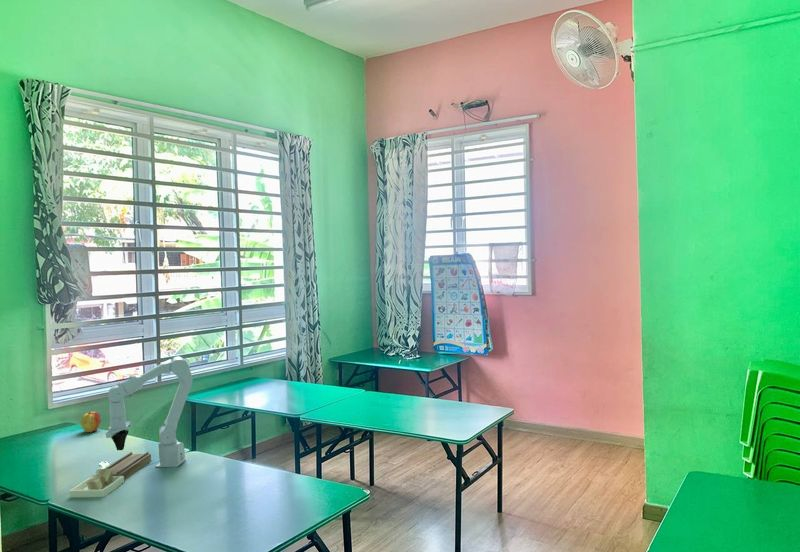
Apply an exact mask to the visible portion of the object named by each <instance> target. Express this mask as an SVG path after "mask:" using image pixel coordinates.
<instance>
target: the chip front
mask: <svg viewBox="0 0 800 552" xmlns="http://www.w3.org/2000/svg"><path fill="white" fill-rule="evenodd" d="M89 478H90V479H89V480H88V481H87V482H86V483H87V486H88V490H101V488H102V487H103V486H104V484H105V482H104V478H103V475H96V474H92V475H91V476H90V477H89Z"/></svg>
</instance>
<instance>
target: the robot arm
mask: <svg viewBox="0 0 800 552" xmlns="http://www.w3.org/2000/svg"><path fill="white" fill-rule="evenodd" d="M171 373H173V374H174V375H175V377H177V378H178V380H179V382H178V383H179V384H178V386H177V389H176V392H175V394H174V398H173V400H172V403H171V405H170V408H169V410H168V414H167V416H166V418H165V420H164V422H163V424H162V425H161V426H160V427H159V429H158V435H159V437H158V439H159V441H158V443H157V445H158V458H159V463H158V464H156V465H155V468H178V467H179V466H180V465H181V464H183V463H184V462H185V461H187V458H186V453H185V444H184V443H183V442H180V441H178V439H177V433H176V432H177V428H178V423H179V420H180V417H181V415H182V412H183V410H184V406H185V404H186V401H187V399H188V395H189V393H190V390H191V387H192V384H193V381H194V379H193V376H192V372H191V369H190V366H189V364H188V362H187V361H186V360H185V358H184V357H182V356H178V355H177V356H174V357H172V358H171V359H168V360H165V361H163V362H161V363H160V364H158V365H156V366H155V367H152V369H149V370H148V371H146V372H145V373H143V374H141V375H129V376H128V378H127V379H125V380H123V381H122V382H118V383H116V385H113V386H111V387H110V388H109V390H108V394H107V398H108V400H109V401H108V405H109V406H108V410H109V411H108V412H109V424H110V426H109V427H108V429H107V430H108V431H107V432H105V438H107V439H111V440H112V441H113V444H114V446H115V448H116V450H117V451H123V450H124V449H125V444H126V439H127V438H128V437H127V436H128V435H129V429H128V428H130V427H132V422H131V421H127V413H126V412H127V411H126V404H125V400H124V398H125V397H127V396H129V395H131V394H133V393H135V392H137V391H138V390H141V389H142V388H143V387H144V384H145V383H147V382H149V381H151V380H153V379H155V378H157V377H159V376H161V375H163V374H166V375H170V374H171Z"/></svg>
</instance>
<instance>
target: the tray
mask: <svg viewBox="0 0 800 552" xmlns="http://www.w3.org/2000/svg"><path fill="white" fill-rule="evenodd" d="M89 479H90V477H88V478H87V479H85V480H84V481H82V482H81V483H79V484H78V485H76V486H74V487H73V488H71V489H70V490H68V491H69V492H68V493H69V498H104V497H106V496H107V495H109V494H111V492H113V491H114V490H115V489H117V488H119V487H120V486H121V485H123V484H124V483H125V480H124V476H113V477H112V479H111V481H110V483H109V484H105V485H104V486H103V487H102V488H101V490H88V486H87V483H86V482H87V481H88V480H89ZM122 483H123V484H122ZM118 486H119V487H118Z"/></svg>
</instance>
